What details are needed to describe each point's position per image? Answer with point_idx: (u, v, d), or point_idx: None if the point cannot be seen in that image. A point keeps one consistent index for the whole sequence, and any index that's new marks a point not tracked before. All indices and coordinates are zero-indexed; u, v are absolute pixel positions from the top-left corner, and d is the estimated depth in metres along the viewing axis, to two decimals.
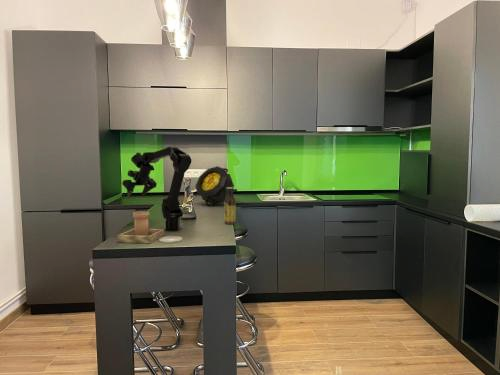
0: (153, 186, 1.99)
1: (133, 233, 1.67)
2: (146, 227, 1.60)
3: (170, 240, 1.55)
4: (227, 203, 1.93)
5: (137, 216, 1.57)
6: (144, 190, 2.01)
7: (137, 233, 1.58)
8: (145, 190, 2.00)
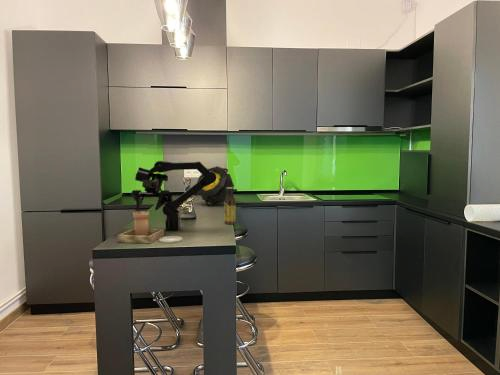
0: None
1: (133, 233, 1.67)
2: (146, 227, 1.60)
3: (170, 240, 1.55)
4: (227, 203, 1.93)
5: (137, 216, 1.57)
6: (139, 203, 1.69)
7: (137, 233, 1.58)
8: (140, 203, 1.70)
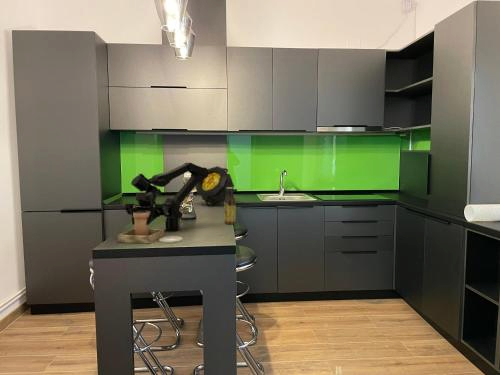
0: None
1: (133, 233, 1.67)
2: (146, 227, 1.60)
3: (170, 240, 1.55)
4: (227, 203, 1.93)
5: (137, 216, 1.57)
6: None
7: (137, 233, 1.58)
8: None
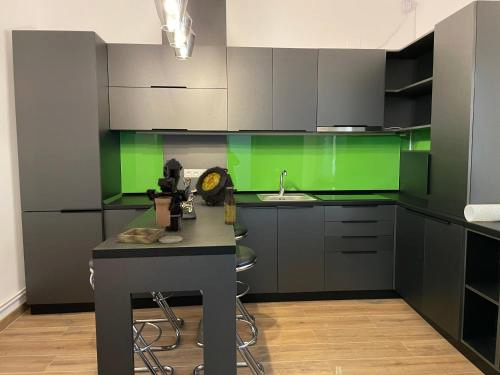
0: None
1: (133, 233, 1.67)
2: (168, 213, 1.56)
3: (170, 240, 1.55)
4: (227, 203, 1.93)
5: (159, 202, 1.54)
6: None
7: (158, 219, 1.55)
8: None
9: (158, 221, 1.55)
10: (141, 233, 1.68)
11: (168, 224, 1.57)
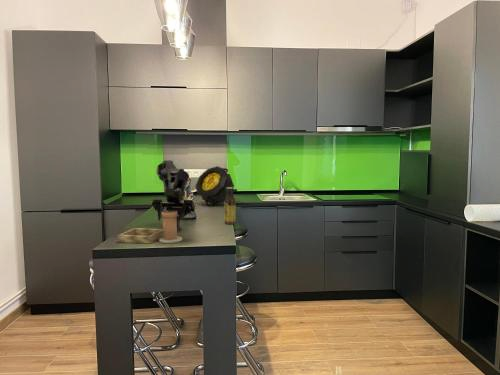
0: None
1: (133, 233, 1.67)
2: (175, 226, 1.56)
3: (170, 240, 1.55)
4: (227, 203, 1.93)
5: (166, 215, 1.54)
6: (160, 214, 1.59)
7: (165, 233, 1.55)
8: (161, 214, 1.60)
9: (165, 235, 1.55)
10: (141, 233, 1.68)
11: (175, 237, 1.57)
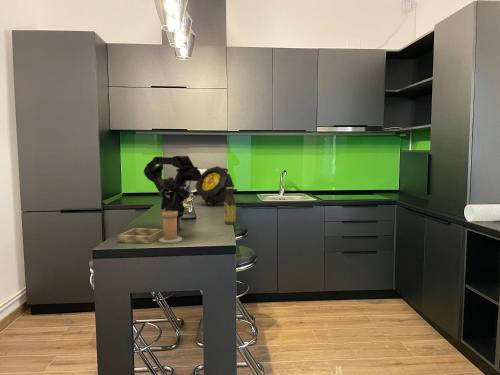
0: None
1: (133, 233, 1.67)
2: (175, 226, 1.57)
3: (170, 240, 1.55)
4: (227, 203, 1.93)
5: (166, 215, 1.54)
6: (164, 203, 1.71)
7: (166, 232, 1.55)
8: (166, 202, 1.72)
9: (165, 235, 1.56)
10: (141, 233, 1.68)
11: (175, 237, 1.57)
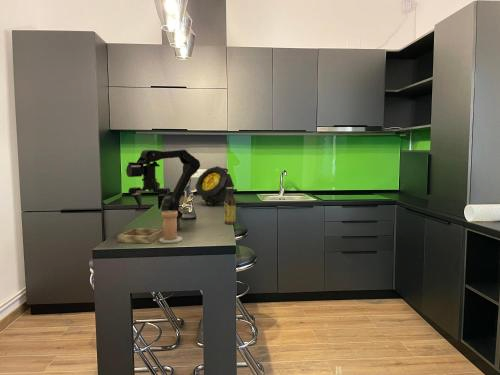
0: (161, 192, 1.67)
1: (133, 233, 1.67)
2: (175, 226, 1.57)
3: (170, 240, 1.55)
4: (227, 203, 1.93)
5: (166, 215, 1.54)
6: None
7: (166, 233, 1.55)
8: None
9: (165, 235, 1.55)
10: (141, 233, 1.68)
11: (175, 237, 1.57)
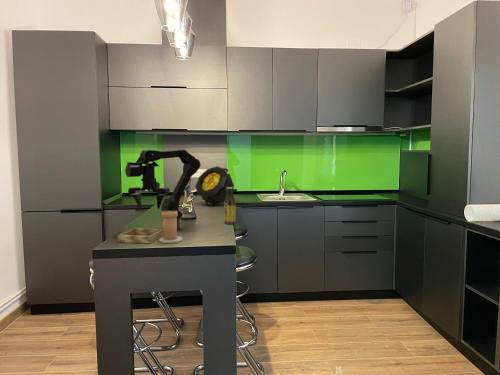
0: (160, 192, 1.66)
1: (133, 233, 1.67)
2: (175, 226, 1.57)
3: (170, 240, 1.55)
4: (227, 203, 1.93)
5: (166, 215, 1.54)
6: None
7: (166, 233, 1.55)
8: None
9: (165, 235, 1.55)
10: (141, 233, 1.68)
11: (175, 237, 1.57)
